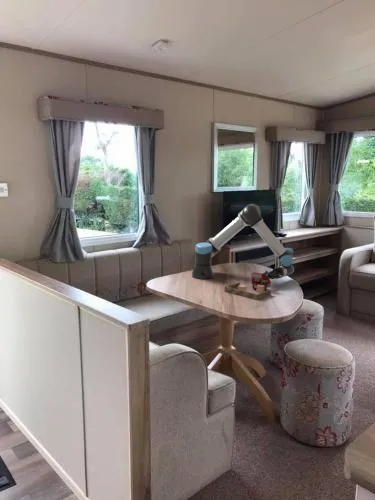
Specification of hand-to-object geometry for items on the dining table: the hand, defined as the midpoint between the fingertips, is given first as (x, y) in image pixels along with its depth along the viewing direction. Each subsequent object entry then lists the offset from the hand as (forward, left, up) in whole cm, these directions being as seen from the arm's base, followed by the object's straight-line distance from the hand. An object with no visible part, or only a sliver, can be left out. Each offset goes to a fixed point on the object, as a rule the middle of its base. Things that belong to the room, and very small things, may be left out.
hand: (261, 278), depth 265 cm
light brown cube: (-4, -17, -5) cm, 19 cm away
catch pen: (0, -15, -7) cm, 17 cm away
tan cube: (+4, -6, -7) cm, 10 cm away
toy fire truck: (+1, -1, -7) cm, 7 cm away
